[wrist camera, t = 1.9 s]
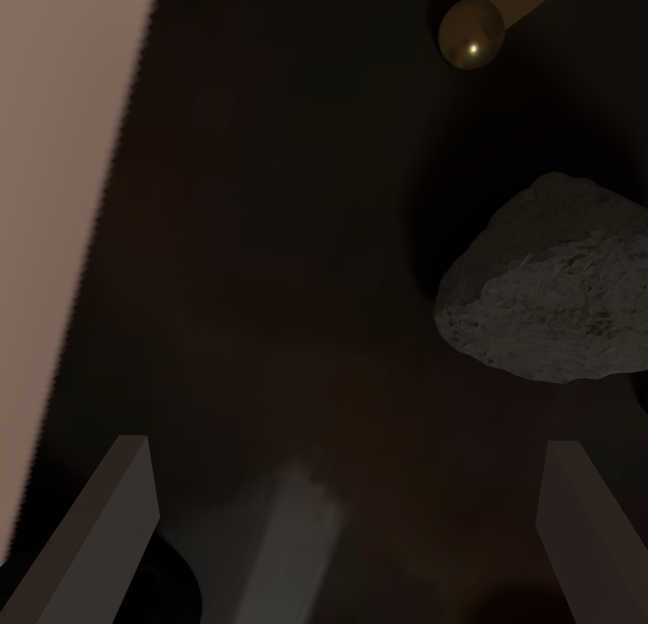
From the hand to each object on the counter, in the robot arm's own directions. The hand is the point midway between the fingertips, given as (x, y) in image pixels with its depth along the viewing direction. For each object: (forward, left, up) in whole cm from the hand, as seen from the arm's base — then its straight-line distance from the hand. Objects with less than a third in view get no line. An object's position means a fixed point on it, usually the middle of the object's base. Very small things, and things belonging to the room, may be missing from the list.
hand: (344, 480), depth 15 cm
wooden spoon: (+8, +13, -20) cm, 25 cm away
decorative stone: (+11, 0, -20) cm, 23 cm away
